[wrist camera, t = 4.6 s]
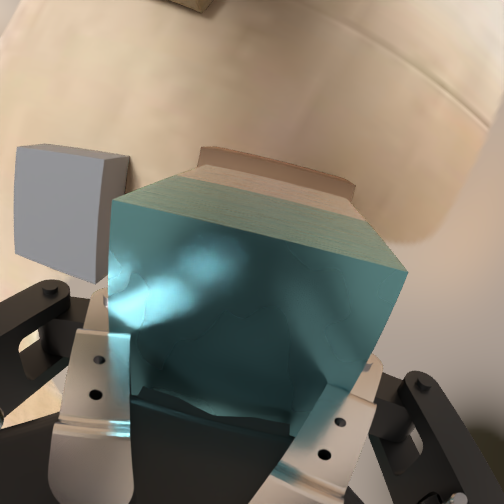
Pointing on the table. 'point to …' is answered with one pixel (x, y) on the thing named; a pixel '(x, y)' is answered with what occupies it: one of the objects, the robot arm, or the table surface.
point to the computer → (194, 4)
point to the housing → (246, 291)
